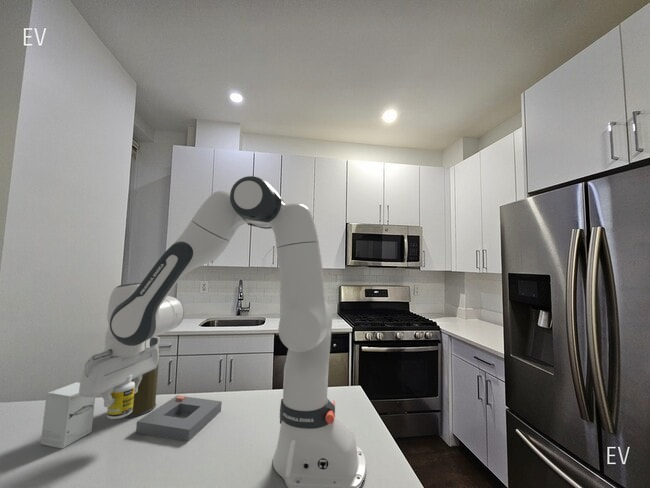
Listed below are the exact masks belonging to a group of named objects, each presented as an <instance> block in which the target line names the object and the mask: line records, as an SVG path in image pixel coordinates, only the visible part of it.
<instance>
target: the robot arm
mask: <svg viewBox="0 0 650 488" xmlns="http://www.w3.org/2000/svg"><path fill="white" fill-rule="evenodd" d="M245 224H247V225H248V226H252V227H257V228H261V229H264V230H265V229H266V230H267V229H268V230H269V229H270V230H271V229H272V231H273V234H274V238H275V247H276V254H277V263H278V271H279V279H280V286H279V287H280V291H279V322H278V330H277V331H278V335H279V339H280V341H281V342H282V345H284V346H285V347H286V348H287V353H286V359H285V363H284V367H283V387H282V399H280V405H279V424H280V427H279V428H280V429H279V433H278V439H277V444H276V449H275V451H274V454H273V458H272V466H273V469H274V470H275V472H276V473H277V474H278V475H279V476H281V477H282V479H283V481H284V483H285V485H286V487H287V488H357V487H359V486H360V485H361V483H362V482H363V480H364V481H365V479H366V475H365V473H367V462H366V457H365V454H364V453H365V452H364V451H363V450H362V449H361V448H360V447H359V446H357V442H356V438H355V434H354V432H353V431H352V429H351V428H349V426H347V425H346V424H345V423H344V422H343V421H341V419H339V418H338V417H337V416H336V402H335V400H333V401H332V402H331V400H330V399H328V390H329V389H328V388H329V386H328V385H329V364H330V356H331V355H330V354H331V353H330V352H331V341H332V330H333V329H332V327H333V312H332V309H331V306H330V305H329V303H328V302H327V301H326V300H325V291H324V290H325V288H324V270H323V262H322V256H321V249H320V243H319V237H318V233H317V227H316V223H315V221H314V218H313V215H312V212H311V210H310V208H308V207H307V206H306V205H304V204H301V203H295V202H294V203H285V201H284V200H283V198H282V197H281V196H280V194H279V192H278V191H277V190H276V189H275V188H274V187H273V186H272V185H271V184H270V183H269V182H268V181H266V180H265V179H263V178H260V177H258V176H253V175H249V176H244V177H241V178H240V179H238V180H236V182H234V184H233V185H232V187H231V189H230V192H228V191H224V190H217V191H215V192H214V191H213V193H212V194H210V195H209V197H208V198H207V199H206V200H204V202H203V203H202V204H201V205H200V207H199V208H198V209H197V210H196V212H195V213H194V215H193V217H192V218H191V220H190V221H189V223H188V225H187V226H186V228H185V229H184V230H183V232H182V233H181V234H180V236H179V237H177V240H176V241H174V243H173V244H171V246H169V247H168V248H167V250H166V251H164V253H162V255H161V256H160V258H159V259H158V260H157V261H156V263H155V264H154V265H153V267H152V268H151V270H150V271H149V272H148V273H147V275H146V276H145V278H143V280H142V281H141V282H134V283H126V284H120V285H118V286H116V287H114V288H113V289H112V292H111V293H110V296H109V300H108V305H107V306H108V307H107V315H106V316H107V317H106V321H107V325H108V327H107V330H106V333H105V339H104V351H102V352H100V353H95V354H93V355H91V356H90V358H89V359H87V360H86V361H85V363H84V366H83V367H84V368H83V371H82V374H81V379H80V382H79V383H80V387H79V394H80V395H81V396H83V397H95V398H96V397H98V396H101V397H102V399H103V406H104V407H105V408H108V407H110V406H112V405H114V404H115V399H116V397H112V396H111V394H110V393H112V392H113V388H115V387H117V386H119V385H121V384H123V383H125V382H126V380H127V377H128V376H130V375H132V379H133V382H134V383H135V390H134V394H135V393H137V392H138V386H139V384H140V382H141V380H142V375H143V374H145V373H147V372H149V371H151V370H153V369H155V368H156V367H157V365H158V361H159V362H160V353H159V350H160V349H159V348H160V347H159V344H160V341H161V338H160V337H159V336H160V335H162V334H164V333H167V332H169V331H172V330H174V329H175V328H177V327H178V326H179V325H181V323H182V322H183V320H184V317H185V316H184V315H185V309H184V305H183V304H182V302H181V301H180V300H179V298H177V297H175V296H171V295H169V294H170V293H171V291H172V290H173V289H174V287H175V286H176V285H177V283H178V282H179V281H180V280H181V278H183V277H184V276H185V275H186V274H189V272H192V271H193V270H194V269H197V268H199V267H203V266H204V265H206V264H209V263H211V262H214V261H216V260H217V259H218V258H219V257H220V256H221V255H222V254H223V252H224V251H225V250H226V249H227V247H228V245H229V244H230V242H231V240H232V238H233V237H234V235H235V233H236V232H237V231H238V229H239V228H240V227H241V226H243V225H245ZM158 366H159V365H158ZM360 455H361V456H360ZM364 478H365V479H364ZM363 483H364V482H363Z"/></svg>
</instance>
